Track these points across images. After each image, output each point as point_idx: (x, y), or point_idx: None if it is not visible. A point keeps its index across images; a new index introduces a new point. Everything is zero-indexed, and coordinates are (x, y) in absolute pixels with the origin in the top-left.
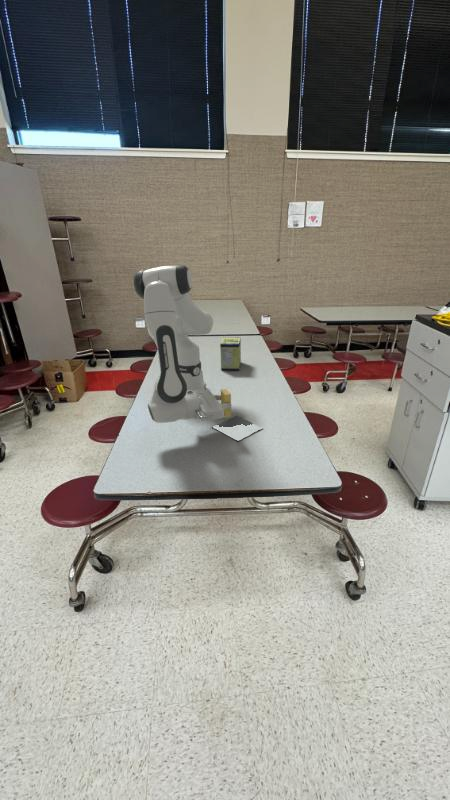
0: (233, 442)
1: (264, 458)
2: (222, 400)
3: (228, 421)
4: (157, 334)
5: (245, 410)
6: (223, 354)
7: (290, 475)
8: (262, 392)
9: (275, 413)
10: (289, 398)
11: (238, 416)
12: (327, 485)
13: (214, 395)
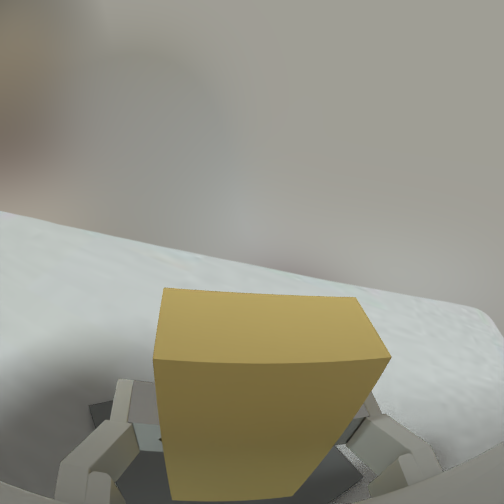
0: (362, 499)
1: (452, 403)
2: (240, 445)
3: (134, 471)
4: None
5: (64, 352)
6: None
7: (493, 362)
8: (6, 255)
9: (154, 288)
10: (92, 231)
11: (105, 403)
12: (491, 319)
13: (79, 487)
